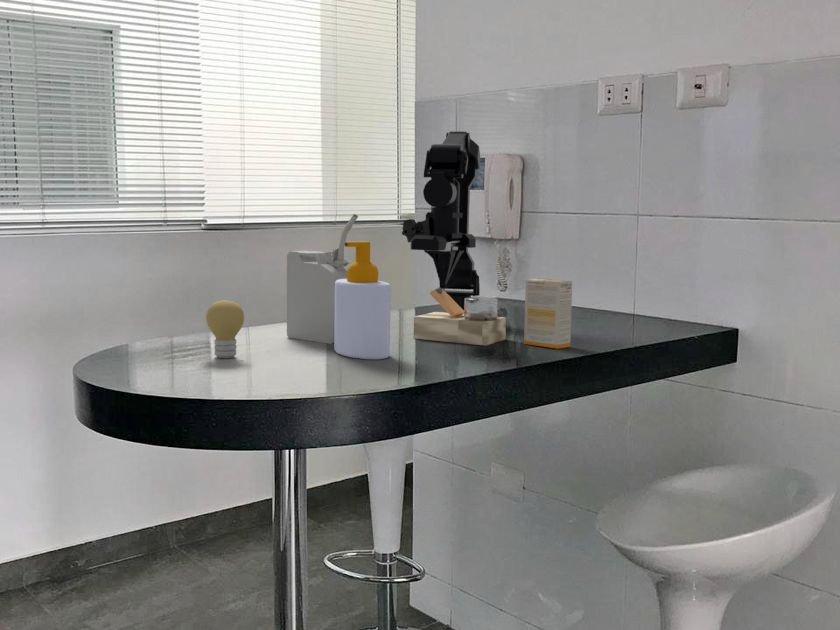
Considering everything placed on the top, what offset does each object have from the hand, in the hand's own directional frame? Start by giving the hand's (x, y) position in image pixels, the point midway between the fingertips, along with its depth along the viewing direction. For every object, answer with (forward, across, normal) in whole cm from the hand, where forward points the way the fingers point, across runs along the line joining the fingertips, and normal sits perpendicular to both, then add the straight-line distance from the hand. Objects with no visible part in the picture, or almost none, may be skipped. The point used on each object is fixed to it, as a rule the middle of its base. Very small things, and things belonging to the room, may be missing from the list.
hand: (443, 284), depth 182 cm
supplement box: (+11, -2, +22) cm, 25 cm away
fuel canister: (+11, +17, -18) cm, 27 cm away
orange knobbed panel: (+4, 0, +1) cm, 4 cm away
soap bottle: (+11, +27, -3) cm, 29 cm away
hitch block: (+11, 0, +4) cm, 12 cm away
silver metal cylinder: (+10, 0, +8) cm, 13 cm away
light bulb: (+11, +43, -21) cm, 49 cm away
